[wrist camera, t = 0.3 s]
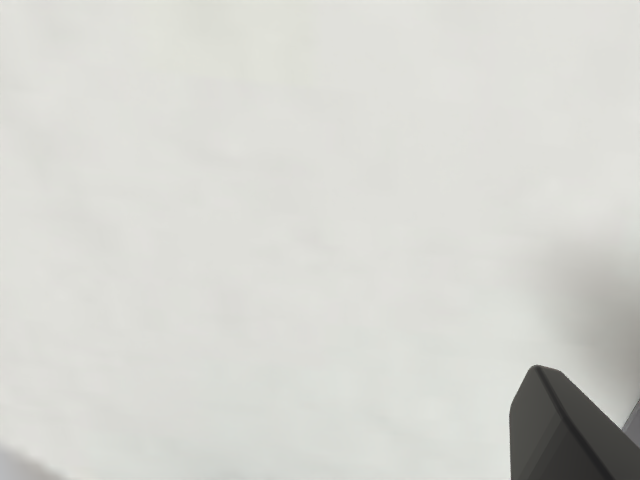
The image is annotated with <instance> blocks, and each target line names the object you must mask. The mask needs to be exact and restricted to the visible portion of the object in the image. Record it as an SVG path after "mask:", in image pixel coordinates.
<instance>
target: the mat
mask: <svg viewBox="0 0 640 480" xmlns="http://www.w3.org/2000/svg"><path fill="white" fill-rule="evenodd" d="M622 431H623V432H624V433H625V434H626V435H627V436H628V437H629V438H630V439H631V440H632V441H633V442H634V443H635V444H636V445H637V446H638V447H639V448H640V400H639V401H638V403H637V405H636V406H635V408H634V410H633V412H632V413H631V415H630V417H629V418H628V420H627V422H626V423H625V425H624V427H623V429H622Z"/></svg>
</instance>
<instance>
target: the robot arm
mask: <svg viewBox="0 0 640 480" xmlns="http://www.w3.org/2000/svg"><path fill="white" fill-rule="evenodd" d="M509 427H510V463H511V480H640V448H639V447H638V446H637V445H636V444H635V443H634V442H633V441H632V440H631V439H630V438H629V437H628V436H627V435H626V434H625V433H624V432H623V431H622V430H621V429H620V428H619V427H618V426H617V425H616V424H615V423H614V422H612V421H611V420H610V419H609V418H608V417H607V416H606V415H605V414H604V413H603V412H602V411H601V410H600V409H599V408H598V407H597V406H596V405H595V404H594V403H593V402H592V401H591V400H590V399H589V398H588V397H587V396H586V395H585V394H584V393H583V392H582V391H581V390H580V389H579V388H578V387H577V386H576V385H574V384H573V383H572V382H571V381H570V380H569V379H568V378H567V377H566V376H565V375H564V374H563V373H562V372H561V371H559V370H557V369H553V368H549V367H545V366H541V365H534V366H532V367H531V368H530V369H529V370H528V372H527V374H526V376H525V378H524V380H523V382H522V384H521V386H520V388H519V390H518V392H517V393H516V395H515V397H514V399H513V402H512V404H511V408H510V414H509Z"/></svg>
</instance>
